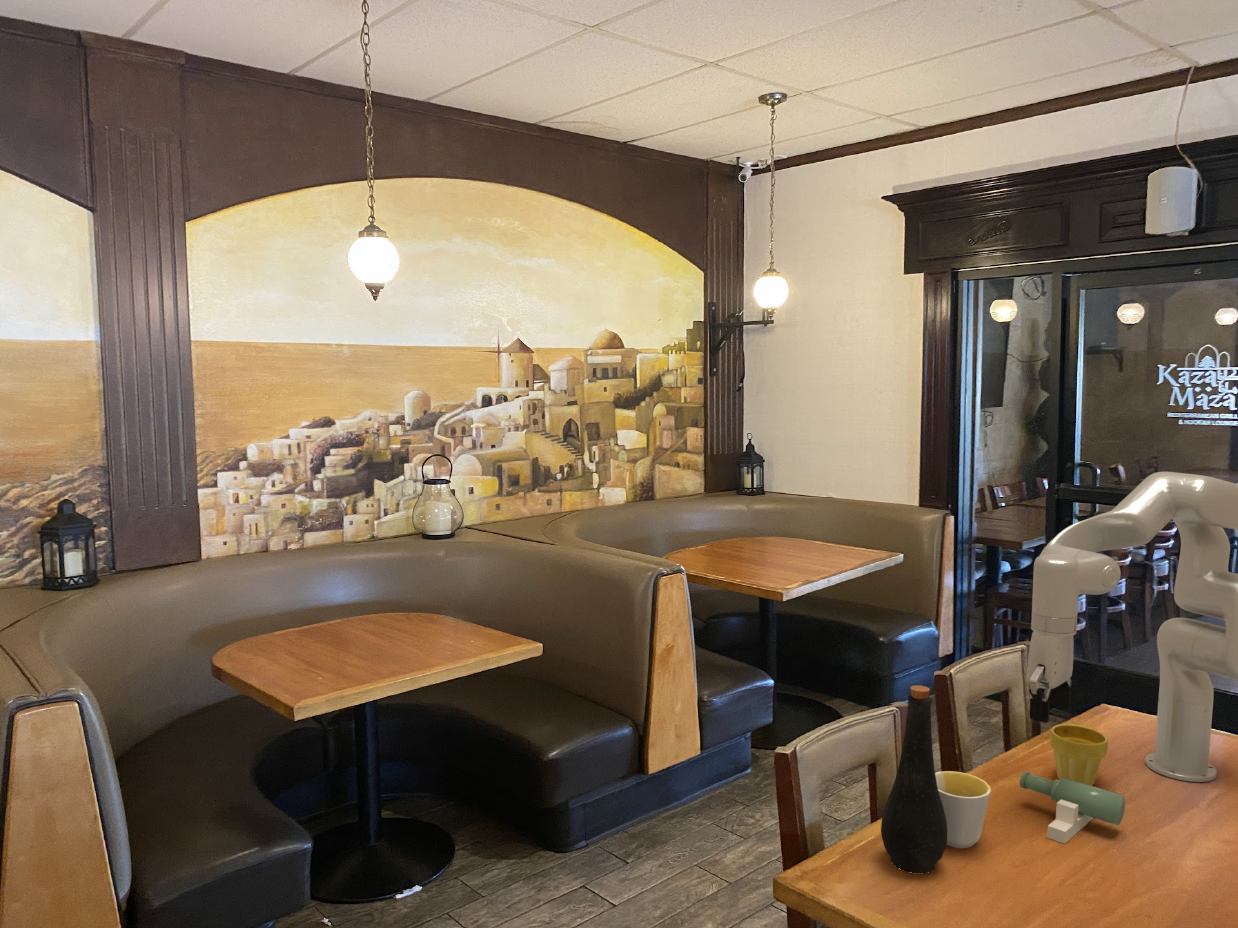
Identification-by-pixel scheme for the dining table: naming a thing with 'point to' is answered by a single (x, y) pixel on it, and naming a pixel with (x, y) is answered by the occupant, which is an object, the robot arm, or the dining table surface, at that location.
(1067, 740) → the plant pot
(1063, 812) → the u rest
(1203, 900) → the dining table surface
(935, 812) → the bottle
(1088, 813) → the green bottle
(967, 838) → the mug
